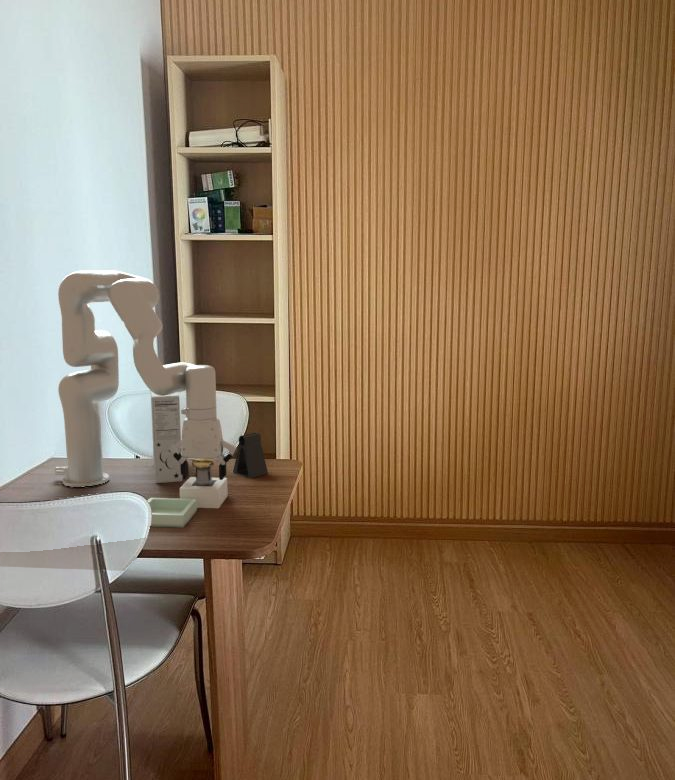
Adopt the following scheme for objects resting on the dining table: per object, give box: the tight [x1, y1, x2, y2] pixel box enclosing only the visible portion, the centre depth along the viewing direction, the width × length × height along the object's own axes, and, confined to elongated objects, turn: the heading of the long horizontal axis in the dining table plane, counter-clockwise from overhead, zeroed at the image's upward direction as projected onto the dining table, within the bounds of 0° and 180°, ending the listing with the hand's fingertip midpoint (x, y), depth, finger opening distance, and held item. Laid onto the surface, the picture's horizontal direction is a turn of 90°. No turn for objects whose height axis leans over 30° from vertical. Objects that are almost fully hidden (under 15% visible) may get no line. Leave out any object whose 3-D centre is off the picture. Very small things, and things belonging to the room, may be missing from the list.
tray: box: [146, 497, 198, 528], centre depth 177 cm, size 12×12×3 cm
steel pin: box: [191, 458, 215, 487], centre depth 188 cm, size 6×6×11 cm
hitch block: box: [179, 476, 229, 509], centre depth 189 cm, size 10×10×5 cm
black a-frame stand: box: [232, 432, 269, 479], centre depth 213 cm, size 9×6×12 cm, turn 47°
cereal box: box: [150, 390, 183, 484], centre depth 214 cm, size 22×8×25 cm, turn 15°
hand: (203, 478), depth 188 cm, fingers open, 9 cm apart
